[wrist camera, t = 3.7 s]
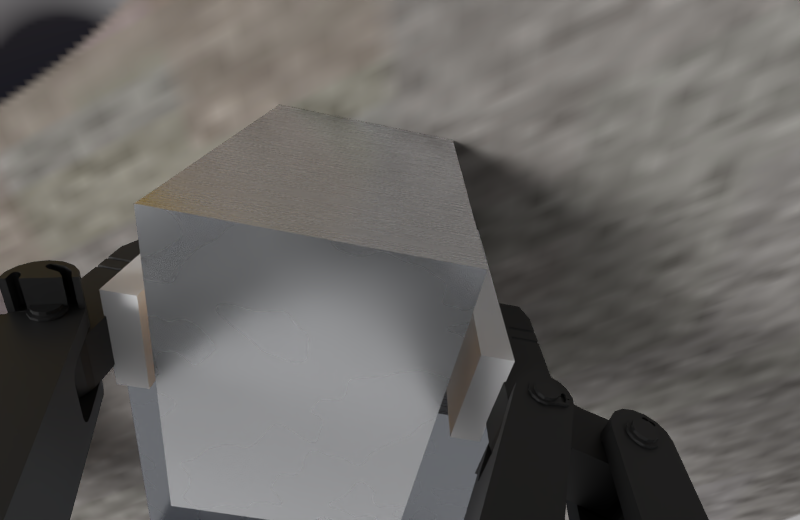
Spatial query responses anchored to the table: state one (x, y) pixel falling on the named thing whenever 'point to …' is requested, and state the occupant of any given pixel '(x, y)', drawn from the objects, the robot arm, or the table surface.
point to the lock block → (307, 314)
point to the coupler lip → (423, 516)
